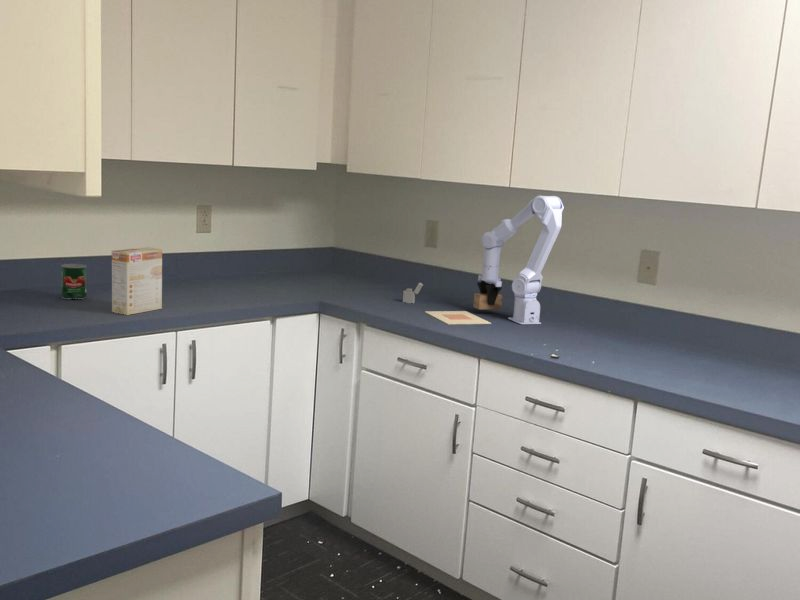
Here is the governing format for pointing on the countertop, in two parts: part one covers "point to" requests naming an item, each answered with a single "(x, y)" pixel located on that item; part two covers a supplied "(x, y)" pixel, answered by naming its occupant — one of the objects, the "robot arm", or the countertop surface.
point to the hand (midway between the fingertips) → (487, 303)
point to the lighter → (411, 294)
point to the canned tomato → (73, 281)
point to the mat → (457, 317)
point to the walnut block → (486, 301)
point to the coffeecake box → (136, 280)
